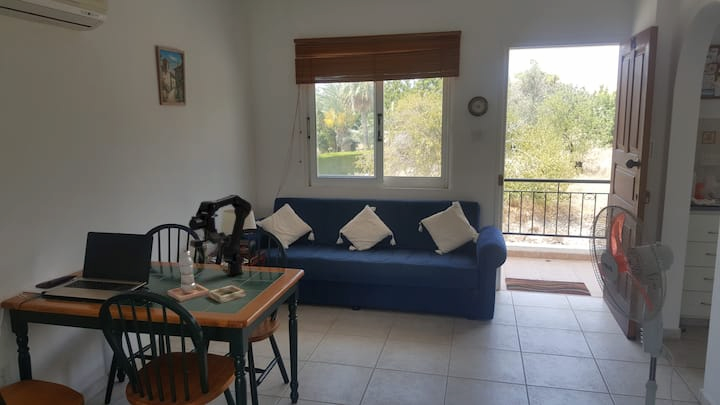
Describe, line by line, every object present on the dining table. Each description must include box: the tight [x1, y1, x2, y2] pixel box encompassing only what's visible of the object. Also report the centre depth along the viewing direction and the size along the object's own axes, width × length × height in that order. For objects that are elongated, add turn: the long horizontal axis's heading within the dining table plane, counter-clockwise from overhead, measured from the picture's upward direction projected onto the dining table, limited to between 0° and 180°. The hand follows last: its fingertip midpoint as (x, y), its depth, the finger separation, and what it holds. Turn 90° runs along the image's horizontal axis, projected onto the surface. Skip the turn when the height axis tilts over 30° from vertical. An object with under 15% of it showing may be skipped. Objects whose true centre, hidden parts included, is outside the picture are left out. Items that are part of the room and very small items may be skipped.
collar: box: [208, 284, 246, 304], centre depth 223 cm, size 12×12×2 cm
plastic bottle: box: [178, 249, 197, 294], centre depth 225 cm, size 6×7×20 cm
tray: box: [167, 283, 211, 303], centre depth 227 cm, size 14×14×2 cm
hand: (211, 257), depth 241 cm, fingers open, 9 cm apart
